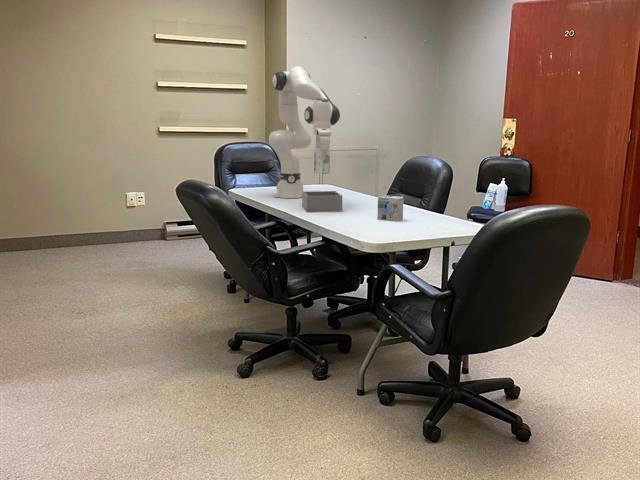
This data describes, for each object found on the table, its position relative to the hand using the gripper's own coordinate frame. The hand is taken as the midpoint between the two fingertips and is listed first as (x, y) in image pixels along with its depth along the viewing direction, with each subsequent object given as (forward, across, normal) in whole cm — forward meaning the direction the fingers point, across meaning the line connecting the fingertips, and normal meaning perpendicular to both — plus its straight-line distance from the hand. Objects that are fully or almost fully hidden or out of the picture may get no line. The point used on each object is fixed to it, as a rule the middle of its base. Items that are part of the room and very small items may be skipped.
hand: (322, 158), depth 302 cm
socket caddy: (+26, 0, 0) cm, 26 cm away
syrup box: (+8, 0, 0) cm, 8 cm away
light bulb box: (+26, +34, +27) cm, 51 cm away
